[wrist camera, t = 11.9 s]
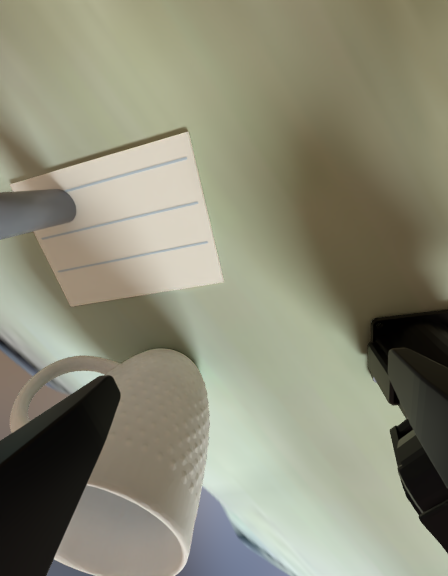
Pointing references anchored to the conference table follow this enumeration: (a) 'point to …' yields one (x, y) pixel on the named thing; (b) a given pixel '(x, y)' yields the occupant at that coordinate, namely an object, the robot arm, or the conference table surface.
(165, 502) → the mug
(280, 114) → the conference table surface
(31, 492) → the robot arm
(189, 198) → the paper
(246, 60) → the conference table surface
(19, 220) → the marker
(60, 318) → the conference table surface
